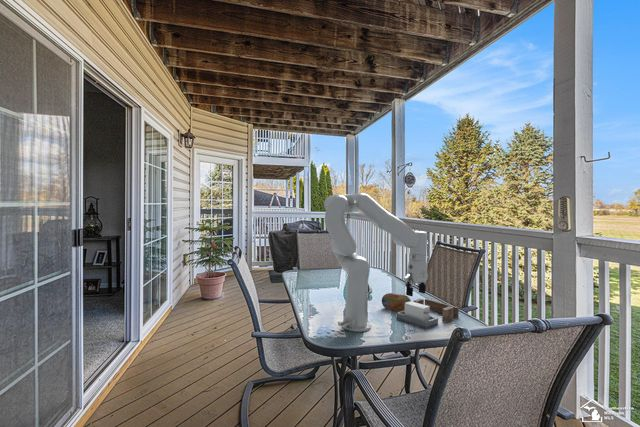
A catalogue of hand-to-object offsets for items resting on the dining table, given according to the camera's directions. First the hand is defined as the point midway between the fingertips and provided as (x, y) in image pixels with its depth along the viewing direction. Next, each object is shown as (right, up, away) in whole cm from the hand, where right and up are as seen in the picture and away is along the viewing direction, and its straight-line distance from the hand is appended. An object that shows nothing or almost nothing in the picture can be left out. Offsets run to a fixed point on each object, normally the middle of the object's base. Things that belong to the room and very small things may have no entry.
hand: (415, 294), depth 145 cm
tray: (+1, -13, 0) cm, 13 cm away
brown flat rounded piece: (-5, -13, +17) cm, 22 cm away
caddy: (+1, -12, 0) cm, 12 cm away
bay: (+13, -13, +10) cm, 21 cm away
